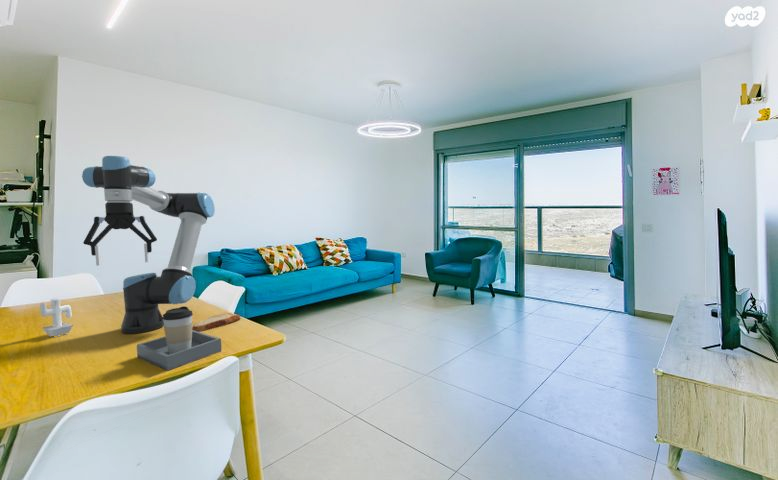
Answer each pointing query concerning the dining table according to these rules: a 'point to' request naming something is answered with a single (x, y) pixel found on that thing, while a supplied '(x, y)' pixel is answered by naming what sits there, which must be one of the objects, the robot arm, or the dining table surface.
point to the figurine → (56, 317)
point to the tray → (160, 357)
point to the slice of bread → (215, 321)
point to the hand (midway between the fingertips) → (123, 263)
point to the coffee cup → (178, 329)
